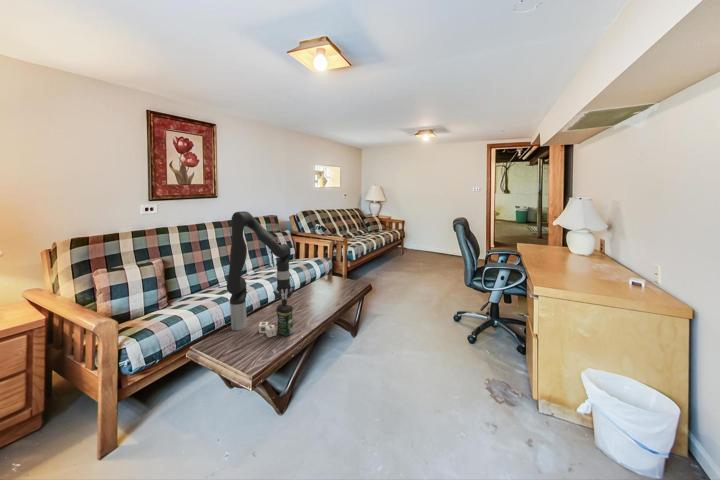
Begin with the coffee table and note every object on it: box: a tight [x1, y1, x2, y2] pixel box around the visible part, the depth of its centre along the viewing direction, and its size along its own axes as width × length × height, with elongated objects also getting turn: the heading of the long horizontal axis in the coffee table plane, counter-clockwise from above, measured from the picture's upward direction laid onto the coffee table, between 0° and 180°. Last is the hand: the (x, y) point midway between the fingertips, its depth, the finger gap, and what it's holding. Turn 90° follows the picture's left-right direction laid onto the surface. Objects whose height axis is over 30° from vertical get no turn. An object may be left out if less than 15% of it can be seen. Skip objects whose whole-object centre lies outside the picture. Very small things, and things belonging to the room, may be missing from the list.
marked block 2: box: [265, 324, 277, 338], centre depth 178 cm, size 5×6×5 cm
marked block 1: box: [258, 321, 270, 334], centre depth 183 cm, size 5×5×5 cm
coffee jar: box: [276, 303, 294, 337], centre depth 179 cm, size 10×8×19 cm
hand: (284, 304), depth 178 cm, fingers closed
